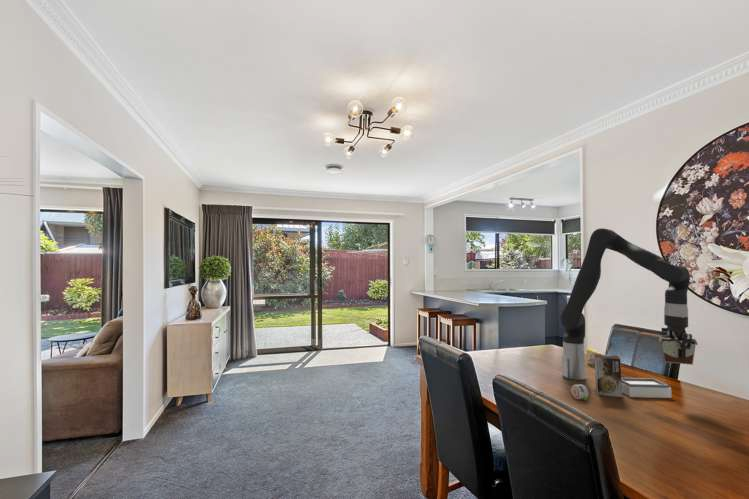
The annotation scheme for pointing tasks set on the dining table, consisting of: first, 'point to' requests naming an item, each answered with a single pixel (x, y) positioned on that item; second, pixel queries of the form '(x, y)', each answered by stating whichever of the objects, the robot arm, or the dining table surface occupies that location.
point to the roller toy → (579, 392)
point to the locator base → (645, 388)
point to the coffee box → (608, 375)
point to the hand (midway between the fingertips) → (676, 356)
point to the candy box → (592, 356)
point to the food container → (676, 351)
